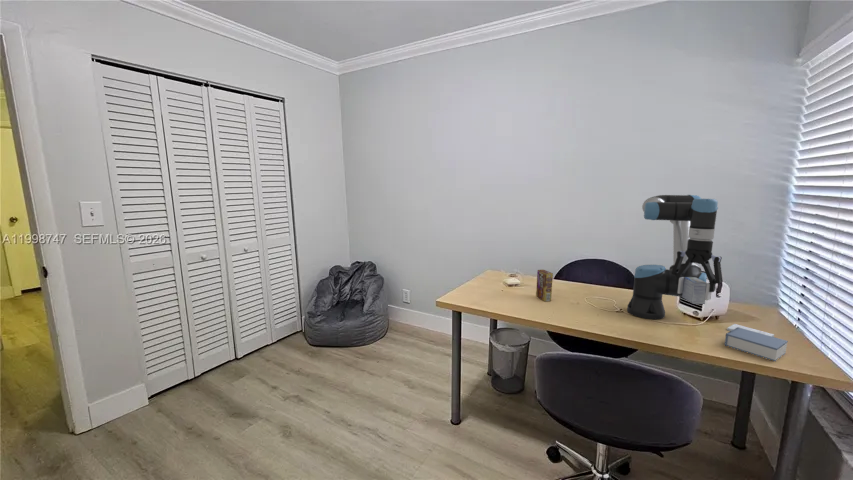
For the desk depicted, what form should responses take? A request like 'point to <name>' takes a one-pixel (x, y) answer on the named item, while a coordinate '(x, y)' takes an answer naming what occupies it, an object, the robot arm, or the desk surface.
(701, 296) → the medicine box
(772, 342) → the book
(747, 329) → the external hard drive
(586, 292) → the desk surface
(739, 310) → the desk surface
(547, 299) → the candy box
